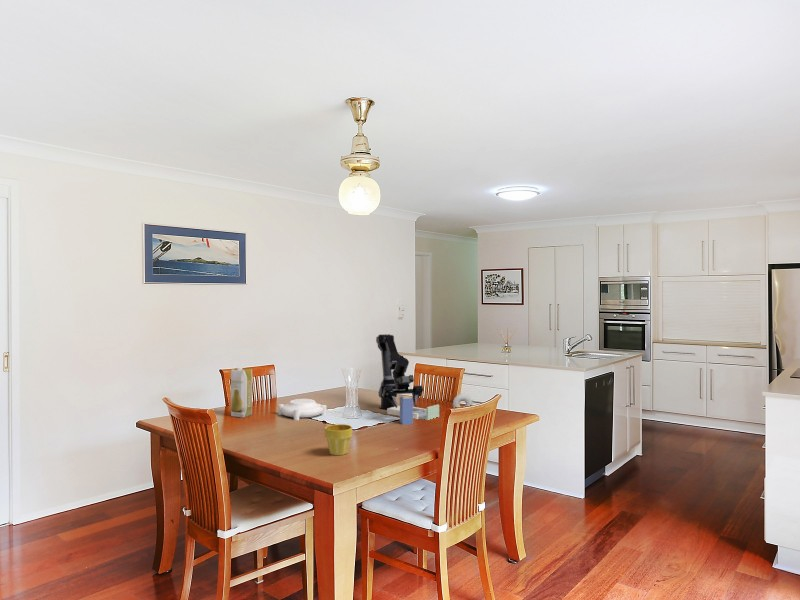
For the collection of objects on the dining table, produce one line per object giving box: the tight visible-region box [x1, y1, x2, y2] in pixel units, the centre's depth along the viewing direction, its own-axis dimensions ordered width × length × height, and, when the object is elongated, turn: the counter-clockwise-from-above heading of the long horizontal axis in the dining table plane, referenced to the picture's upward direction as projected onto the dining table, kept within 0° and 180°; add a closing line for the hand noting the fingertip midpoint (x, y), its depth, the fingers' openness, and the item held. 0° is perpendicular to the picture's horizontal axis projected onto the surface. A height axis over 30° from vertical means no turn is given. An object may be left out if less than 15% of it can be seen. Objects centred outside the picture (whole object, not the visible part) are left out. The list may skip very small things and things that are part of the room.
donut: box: [452, 393, 473, 409], centre depth 281 cm, size 10×4×10 cm, turn 94°
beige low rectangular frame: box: [386, 405, 426, 420], centre depth 279 cm, size 19×12×2 cm, turn 50°
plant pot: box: [324, 423, 353, 456], centre depth 211 cm, size 10×10×10 cm
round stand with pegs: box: [277, 398, 327, 421], centre depth 276 cm, size 24×24×7 cm
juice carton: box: [230, 366, 253, 418], centre depth 273 cm, size 9×8×24 cm
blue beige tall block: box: [399, 395, 414, 426], centre depth 260 cm, size 5×5×12 cm
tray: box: [413, 404, 440, 421], centre depth 275 cm, size 18×9×6 cm, turn 50°
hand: (406, 406), depth 259 cm, fingers open, 9 cm apart
